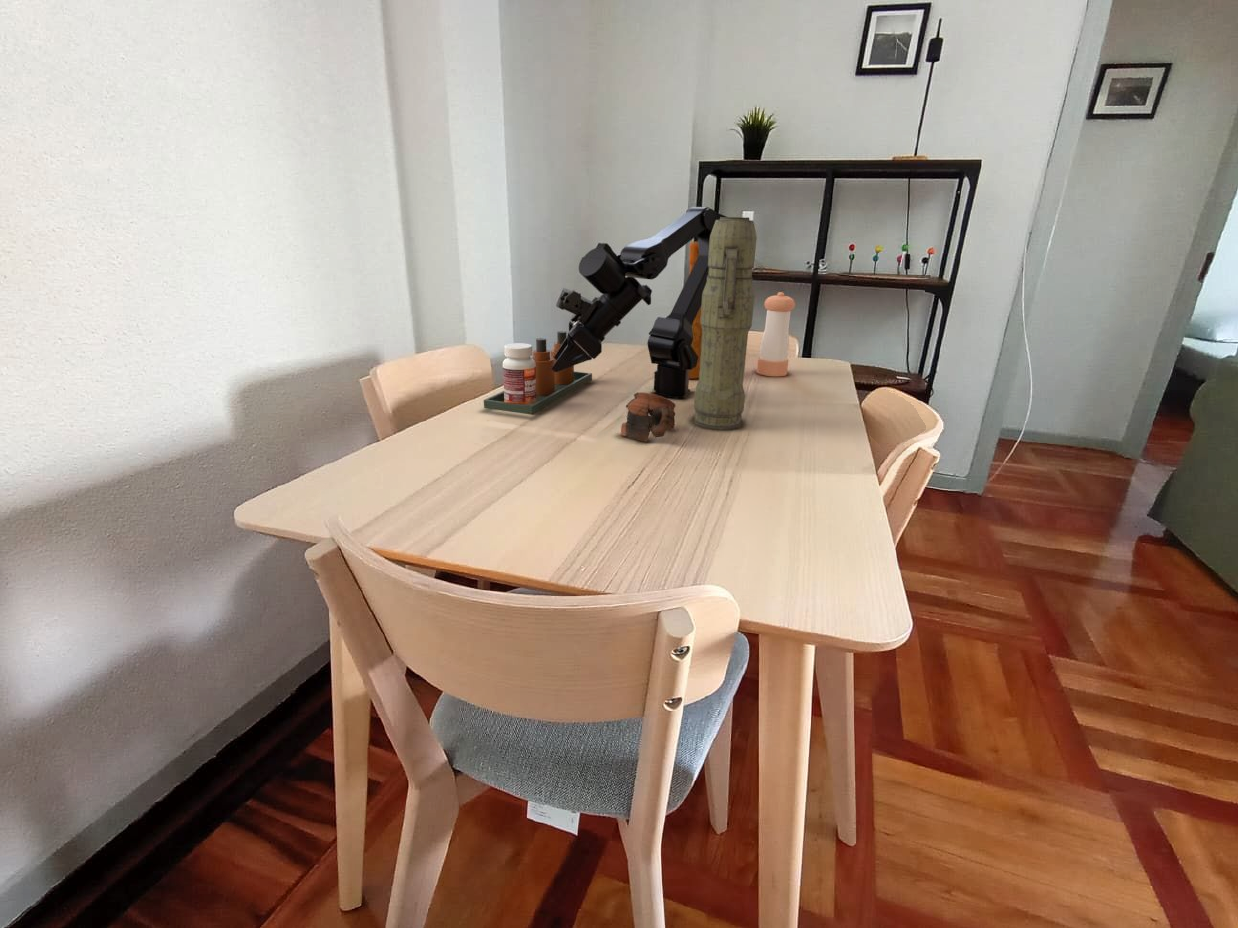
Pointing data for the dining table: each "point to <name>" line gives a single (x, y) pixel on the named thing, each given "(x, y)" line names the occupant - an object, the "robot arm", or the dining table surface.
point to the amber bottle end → (561, 376)
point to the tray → (542, 401)
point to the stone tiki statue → (725, 324)
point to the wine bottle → (696, 324)
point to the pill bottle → (519, 374)
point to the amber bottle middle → (543, 369)
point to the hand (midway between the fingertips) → (554, 364)
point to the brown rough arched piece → (642, 422)
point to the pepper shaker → (775, 336)
